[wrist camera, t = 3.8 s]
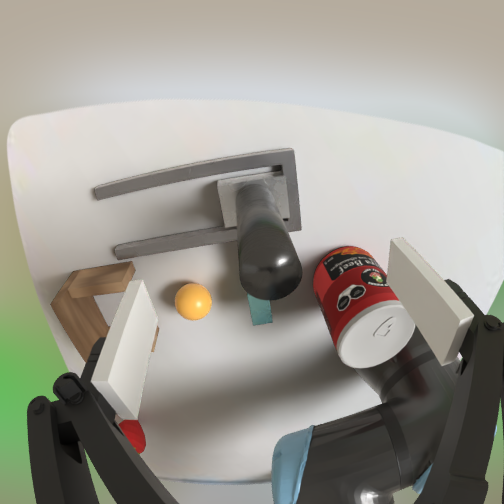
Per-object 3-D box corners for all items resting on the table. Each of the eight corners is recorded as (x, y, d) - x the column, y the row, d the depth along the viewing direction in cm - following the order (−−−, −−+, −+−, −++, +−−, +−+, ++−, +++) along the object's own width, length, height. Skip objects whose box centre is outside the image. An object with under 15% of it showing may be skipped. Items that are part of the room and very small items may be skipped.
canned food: (381, 247, 33) (429, 305, 23) (360, 303, 37) (394, 367, 27) (321, 239, 32) (357, 303, 22) (304, 300, 36) (327, 371, 26)
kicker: (281, 170, 28) (324, 234, 16) (293, 292, 35) (323, 391, 22) (218, 180, 28) (208, 252, 16) (241, 300, 35) (249, 403, 22)
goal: (132, 261, 32) (114, 296, 26) (159, 329, 36) (150, 367, 31) (73, 271, 32) (50, 304, 26) (104, 333, 36) (90, 369, 31)
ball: (208, 273, 33) (206, 295, 30) (215, 302, 35) (214, 325, 31) (173, 278, 33) (167, 300, 30) (182, 306, 35) (178, 330, 31)
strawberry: (124, 424, 48) (116, 467, 39) (113, 403, 45) (101, 450, 36) (152, 427, 49) (147, 472, 40) (144, 407, 45) (136, 456, 36)
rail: (291, 147, 27) (294, 150, 26) (299, 225, 31) (301, 230, 30) (98, 185, 27) (94, 189, 26) (121, 254, 31) (117, 260, 30)
